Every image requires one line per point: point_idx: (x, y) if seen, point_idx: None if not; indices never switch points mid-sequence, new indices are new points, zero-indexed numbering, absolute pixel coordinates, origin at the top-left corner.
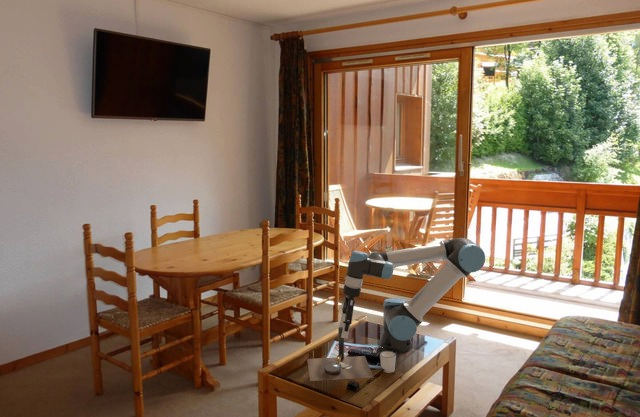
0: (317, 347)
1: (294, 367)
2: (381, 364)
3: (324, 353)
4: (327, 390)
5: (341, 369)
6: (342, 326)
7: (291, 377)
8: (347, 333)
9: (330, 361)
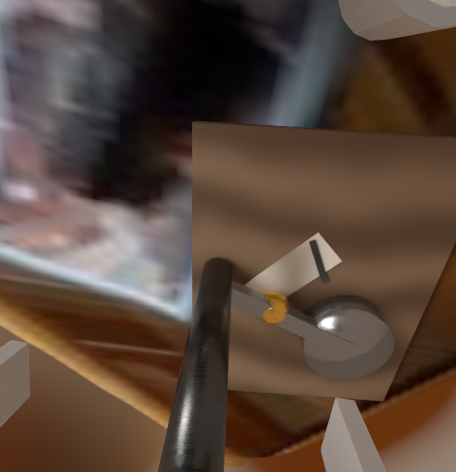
0: (49, 324)
1: (231, 410)
2: (408, 34)
3: (113, 308)
4: (449, 348)
5: (331, 287)
6: (17, 381)
7: (303, 423)
8: (377, 467)
9: (306, 351)
